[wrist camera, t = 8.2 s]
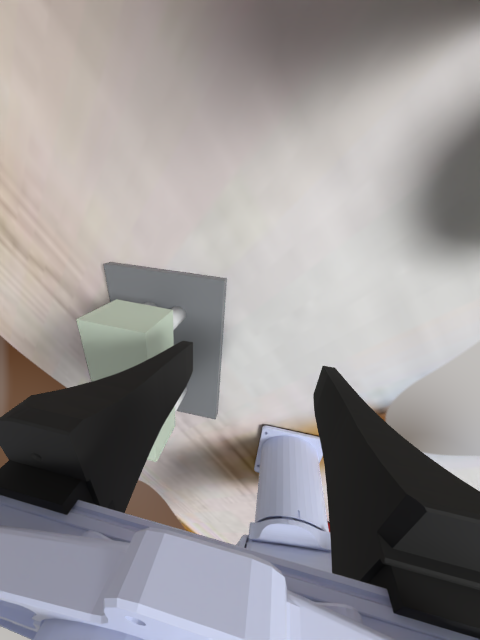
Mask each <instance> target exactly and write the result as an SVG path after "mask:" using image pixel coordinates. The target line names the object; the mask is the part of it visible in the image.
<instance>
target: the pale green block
mask: <svg viewBox="0 0 480 640" xmlns="http://www.w3.org/2000/svg"><path fill="white" fill-rule="evenodd" d="M76 320H77V325H78V329H79V333H80V337H81V341H82V345H83V349H84V353H85V357H86V362H87V366H88V370H89V374H90V378H91V382H93V381H96V380H99V379H102V378H105V377H108V376H111V375H114V374H117V373H119V372H122V371H124V370H127V369H129V368H131V367H134V366H136V365H138V364H140V363H142V362H144V361H146V360H148V359H150V358H152V357H154V356H156V355H158V354H159V353H161V352H163V351H165V350H167V349H168V348H170V347H172V346H174V337H173V310H171V309H166V308H160V307H155V306H150V305H144V304H139V303H134V302H128V301H123V300H118V299H116V300H114V301H112V302H110V303H108V304H106V305H104V306H102V307H100V308H98V309H96V310H94V311H92V312H90V313H88V314H86V315H84V316H82V317H80V318H78V319H76ZM174 427H175V406H174V408H173V409H172V411H171V413H170V414H169V416H168V418H167V419H166V421H165V423H164V425H163V426H162V428H161V430H160V432H159V435H158V437H157V439H156V441H155V443H154V445H153V447H152V449H151V452H150V454H149V456H148V458H147V460H150V461H154V462H157V460H158V458H159V456H160V454H161V453H162V451H163V449H164V447H165V445H166V443H167V441H168V439H169V437H170V435H171V433H172V431H173V429H174Z"/></svg>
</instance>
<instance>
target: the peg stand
mask: <svg viewBox="0 0 480 640" xmlns="http://www.w3.org/2000/svg"><path fill="white" fill-rule="evenodd" d="M104 270H105V275H106V281H107V286H108V292H109V297H110V302H112V301H114V300H116V299H118V300H123V301H128V302H134V303H139V304H144V305H150V306H155V307H160V308H166V309H171V310H173V337H174V345H175V344H177V343H179V342H181V341H188V342H193V372H192V375H191V377H190V379H189V382H188V384H187V386H186V388H185V389H184V391H183V393H182V394H181V396H180V398H179V399H178V401H177V403H176V404H175V412H176V411H180V412H184V413H189V414H193V415H198V416H202V417H207V418H211V419H216V416H217V413H218V400H219V386H220V371H221V356H222V341H223V326H224V312H225V297H226V282H227V278H220V277H213V276H206V275H199V274H192V273H185V272H178V271H171V270H164V269H157V268H150V267H143V266H136V265H129V264H121V263H114V262H109V263H105V264H104Z"/></svg>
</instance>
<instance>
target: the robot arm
mask: <svg viewBox="0 0 480 640" xmlns="http://www.w3.org/2000/svg"><path fill="white" fill-rule="evenodd" d="M192 372H193V342H188V341H181V342H179V343H177V344H175V345H174V346H172V347H170V348H168V349H167V350H165V351H163V352H161V353H159V354H158V355H156V356H154V357H152V358H150V359H148V360H146V361H144V362H142V363H140V364H138V365H136V366H134V367H131V368H129V369H127V370H124V371H122V372H119V373H117V374H114V375H111V376H108V377H105V378H102V379H99V380H96V381H93V382H89V383H86V384H82V385H78V386H74V387H70V388H66V389H62V390H57V391H52V392H47V393H42V394H37V395H31V396H30V397H28V398H27V399H26V400H24V401H23V402H22V403H20V404H19V405H17V406H16V407H14V408H13V409H12V410H10V411H9V412H7V413H6V414H4V415H3V416H2V417H0V446H1V448H2V449H3V451H4V453H5V454H6V456H7V457H8V459H9V461H8V462H7V463H6V464H5V465H4V466H2V467H1V468H0V626H1V627H3V628H6V629H8V630H10V631H13V632H15V633H17V634H20V635H22V636H24V637H27V638H29V639H31V640H480V491H478V490H476V489H475V488H473V487H472V486H470V485H468V484H467V483H465V482H464V481H462V480H461V479H459V478H458V477H456V476H455V475H453V474H452V473H450V472H449V471H447V470H446V469H444V468H443V467H442V466H440V465H439V464H437V463H436V462H434V461H433V460H432V459H430V458H429V457H428V456H426V455H425V454H424V453H422V452H421V451H420V450H418V449H417V448H416V447H414V446H413V445H412V444H411V443H409V442H408V441H407V440H405V439H404V438H403V437H402V436H401V435H399V434H398V433H397V432H396V431H395V430H394V429H393V428H391V427H390V426H389V425H388V424H387V423H386V422H385V421H384V420H383V419H381V418H380V417H379V416H378V415H377V414H376V413H375V412H374V411H373V410H372V409H371V408H370V407H369V406H368V405H367V404H366V403H365V402H364V400H363V399H362V398H361V397H360V396H359V395H358V394H357V393H356V392H355V391H354V389H353V388H352V387H351V386H350V385H349V384H348V383H347V381H346V380H345V379H344V378H343V377H342V375H341V374H340V373H339V372H338V371H337V370H336V369H335V368H332V367H327V366H323V367H322V370H321V373H320V376H319V379H318V382H317V385H316V389H315V392H314V411H315V417H316V422H317V428H318V433H319V437H317V436H313V435H308V434H304V433H299V432H295V431H290V430H285V429H281V428H276V427H272V426H267V425H265V426H263V427H262V432H261V437H260V442H259V447H258V452H257V457H256V462H255V466H254V470H255V471H256V472H258V473H259V483H258V493H257V504H256V515H255V523H252V522H251V523H250V528H249V535H243V536H242V537H241V539H240V541H239V542H238V543H237V544H236V545H233V544H229V543H226V542H222V541H219V540H216V539H212V538H209V537H205V536H202V535H198V534H195V533H191V532H188V531H184V530H181V529H177V528H174V527H171V526H167V525H164V524H160V523H157V522H153V521H150V520H146V519H143V518H139V517H136V516H132V515H129V514H125V510H126V508H127V505H128V503H129V500H130V498H131V495H132V493H133V490H134V488H135V485H136V483H137V481H138V479H139V476H140V474H141V472H142V469H143V467H144V465H145V463H146V460H147V458H148V456H149V454H150V452H151V449H152V447H153V445H154V443H155V441H156V439H157V437H158V435H159V432H160V430H161V428H162V426H163V425H164V423H165V421H166V419H167V418H168V416H169V414H170V413H171V411H172V409H173V408H174V406H175V404H176V403H177V401H178V399H179V398H180V396H181V394H182V393H183V391H184V389H185V388H186V386H187V384H188V382H189V379H190V377H191V375H192ZM322 456H323V458H324V464H325V473H326V483H327V495H328V507H329V521H330V532H329V529H328V522H327V515H326V508H325V502H324V495H323V488H322V481H321V474H320V467H319V463H320V460H321V458H322Z"/></svg>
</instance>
